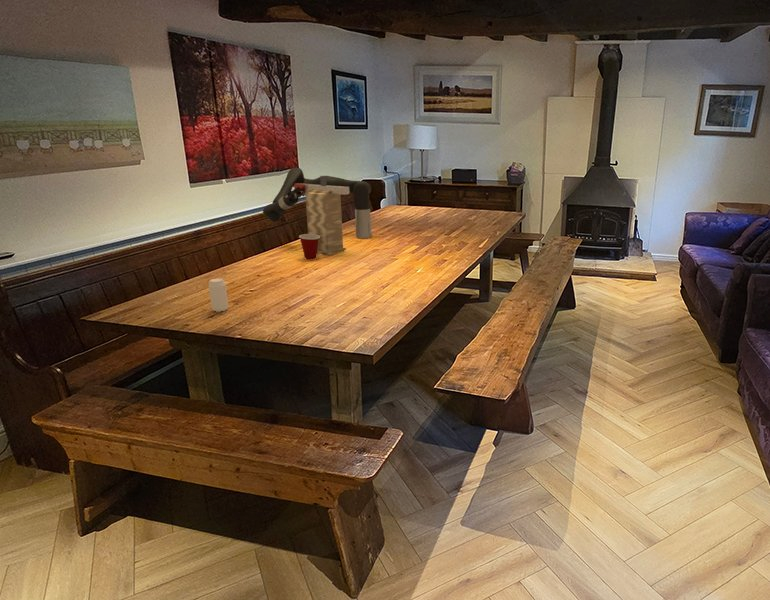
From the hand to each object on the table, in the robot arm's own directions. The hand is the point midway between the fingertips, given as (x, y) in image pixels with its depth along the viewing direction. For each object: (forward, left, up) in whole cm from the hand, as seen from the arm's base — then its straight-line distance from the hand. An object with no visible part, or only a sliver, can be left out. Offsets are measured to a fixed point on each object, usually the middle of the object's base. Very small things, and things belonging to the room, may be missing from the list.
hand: (305, 187), depth 289 cm
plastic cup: (-6, +21, -34) cm, 41 cm away
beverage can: (+10, +102, -34) cm, 108 cm away
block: (-10, +6, -2) cm, 12 cm away
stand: (-11, +6, -34) cm, 36 cm away
